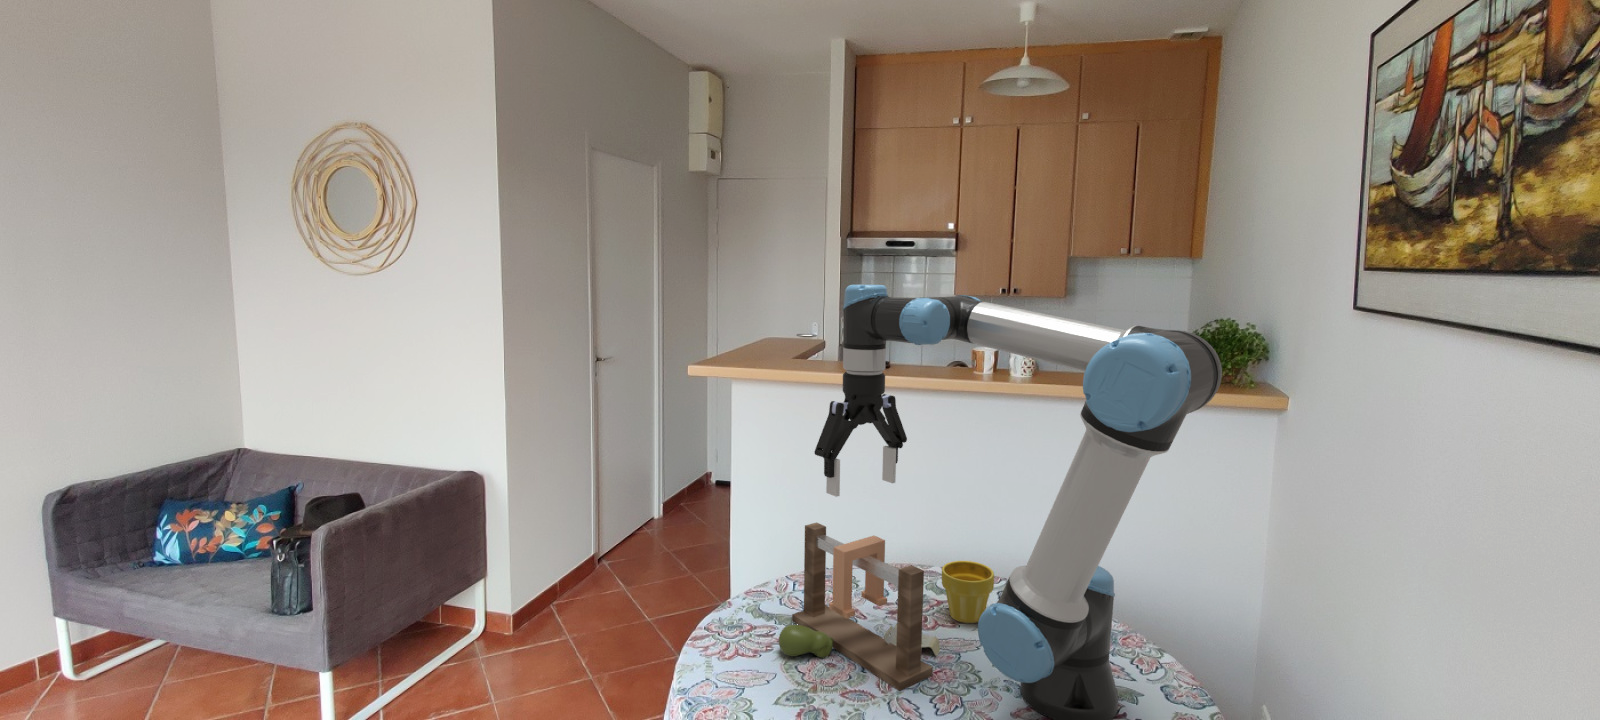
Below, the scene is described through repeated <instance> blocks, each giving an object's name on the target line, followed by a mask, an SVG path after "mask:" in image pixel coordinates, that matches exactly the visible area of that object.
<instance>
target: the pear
mask: <svg viewBox="0 0 1600 720" xmlns="http://www.w3.org/2000/svg"><path fill="white" fill-rule="evenodd" d="M833 640H834V639H833V638H832V637H829V636H828V635H827V634H826V633H824V632H820V631H814V630H812V629H810V628H808V627H805V626H801V625H797V624H789V625H786V626H785V627H784V628H782V630H781V631H780V633H779V636H778V646H779V649H780V650H781V652H782V653H783V654H785V655H787V656H788V657H789V656H790V657H796V656H801V655H805V654H809V653H810V654H814V655H815V656H817V657H818V658H821V659H822V658H823V657H827V656H828V657H829V656H830V653H831V652H832V650H833V649H834V648H833V645H832V643H833ZM828 657H827V658H828Z"/></svg>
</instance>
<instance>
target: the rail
mask: <svg viewBox="0 0 1600 720" xmlns="http://www.w3.org/2000/svg"><path fill="white" fill-rule="evenodd" d="M843 544H844V543H843V542H841V541H838V540H837V539H835V538H832V537H830V536H828V535H827V534H826V535H821V536H817V537H816V547H818V548H820V549H822V550H824V551H826V553H829V554H830V555H833V548H834V547H836V546H839V545H843ZM853 566H855V567H856V568H859V569H861V570H862V571H864V572H865V571H867V572H869V573H871V574H873V575H875V576H877V577H879V578H881V579H883V580H884V582H885V581H886V582H887V583H889V584H890V585H893V586H895V587H897V588H898V575H899V569H900V568H896V567H894V566H893V565H890V564H888V563H886V562H885V563H884V562H882V561H880V560H878V559H876V558H873V557H871V556H866V557H863V558H859V559H856V560H853Z"/></svg>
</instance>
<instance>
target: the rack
mask: <svg viewBox="0 0 1600 720" xmlns="http://www.w3.org/2000/svg"><path fill="white" fill-rule="evenodd" d="M821 535H826V536H827V526H826V525H824V524H821V523H819V522H812V523H809V524H805V525H804V552H803V553H804V555H803V557H804V559H803V561H804V563H803V564H804V570H803V573H804V574H803V579H804V580H803V610H800V611H798V612H795V613H792V617H791V621H793V622H792V623H794V622H795V623H796V624H795V623H794V624H795V625H797V624H798V625H801V626H805V627H808V628H810V629H812V630H814V631H820V632H824V633H826V634H827V635H828V636H829V637H832V638H833V639H834V640H833V643H832V645H833V648H832V649H834V650H835V649H836V650H835V651H837V652H838V653H840V654H842V655H843V656H845V657H846V658H848V659H849V660H851V661H853V662H854V663H856V664H857V665H859V666H860V667H862V668H863V669H865V670H866V671H868V672H870V673H871V674H873V676H876V677H877V678H879V679H880V680H882V681H884V682H885V683H886V684H887V685H890V686H891V687H892V688H894V689H896V690H897V691H900V692H901V691H902V690H905V689H907V688H909V687H911V686H913V685H915V684H918V683H919V682H921V681H924V680H925V679H928V678H930V677H932V676H933V669H934V667H933V666H931V665H930V664H928V663H926V662H924V661H923V660H922V648H921V644H922V635H923V611H924V584H925V583H924V580H925V579H924V578H925V570H923V569H921V568H919V567H916V566H915V565H913V564H912V565H911V564H910V565H907V566H903V567H900V568H898V569H899V575H898V587H897V608H896V609H897V612H896V613H897V615H896V616H897V617H896V618H897V619H896V624H897V643H896V646H895V645H894V644H892V643H889V645H888V644H887V643H886V642H885V640H884V637H881V636H880V635H878V634H876V633H875V632H873V631H871V630H869V629H868V628H867V627H864V626H862V625H861V624H859V623H857V622H856V621H854V620H852V619H851V618H845V617H843V616H841V615H840V614H838V613H836V612H835V611H833V610H831V609H830V608H829V605H827V604H826V570H827V569H826V566H827V565H826V563H827V562H826V561H827V557H826V556H827V552H826V551H824V550H822V549H820V548H818V547H816V537H817V536H821Z"/></svg>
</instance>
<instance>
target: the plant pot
mask: <svg viewBox="0 0 1600 720" xmlns="http://www.w3.org/2000/svg"><path fill="white" fill-rule="evenodd" d="M941 586H942V587H943V588H944V589H945V593H946V599H947V604H948V611H949V615H950V617H951V618H952V619H953V620H955V621H957V622H960V623H965V624H976V623H978V622H979V619H980V616H981V615H982V613H983V612H984V611H985V610H986V609H987V604H988V601H989V596H990V594H991V593H992V592H993V591H994V586H995V574H994V570H993V569H992V568H991V567H989V566H987V565H985V564H983V563H981V562H976V561H971V560H953V561H950V562H947V563H946V564H944V565H943V566H942V567H941Z"/></svg>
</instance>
